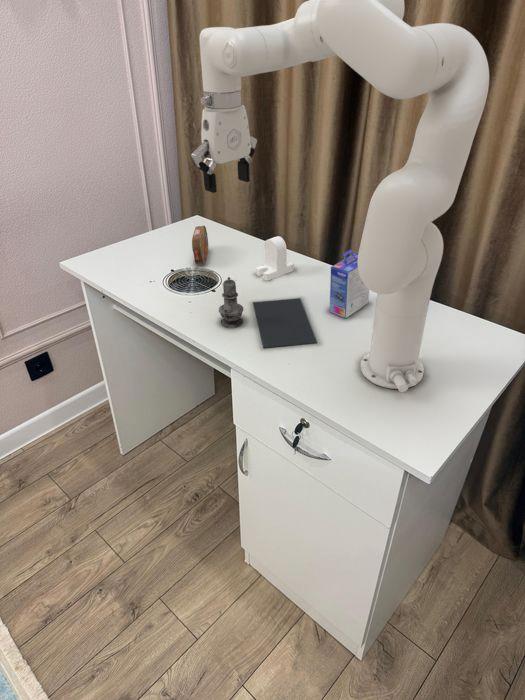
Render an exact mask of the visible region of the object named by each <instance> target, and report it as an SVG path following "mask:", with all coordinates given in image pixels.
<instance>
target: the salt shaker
mask: <svg viewBox="0 0 525 700" xmlns="http://www.w3.org/2000/svg"><path fill="white" fill-rule="evenodd" d="M222 291H223V293H222V294H221V295H222V298H223V304H222V305H220V306H219V308H218V313H219V314H220V317H221V318H222V319H221V320H220V325H221V326H222V327H224V328H226V329H235V328H239V327H240V326H242V325H243V323H244V320H243V318H242V315H243V312H244V310H245V309H244V306H243V305H242V304H240V303H238V296H239V294H238V292H237V285H236V281H234V279H231V277H230V276H228V277H227V279H226V280H224V281H223V283H222Z"/></svg>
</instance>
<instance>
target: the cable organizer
mask: <svg viewBox="0 0 525 700" xmlns="http://www.w3.org/2000/svg"><path fill="white" fill-rule="evenodd" d="M263 246H264V264H262V265H259V266H256V268H255V274H256V276H257V277H261V276H262V279H263V280H264V281H272V280H274V279H276V278H279V277H281V276H283V275H286V274H288V273H292V272H293V271H294V270H295V265H294V264H295V263H294V262H292V261H288V262H287V257H288V255H287V254H288V253H287V244H286V241H285V239H284V238H283V237H282V236H279V235H277V236H274V237H271V238H268V239H266V240H265V242H264V245H263Z"/></svg>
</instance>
